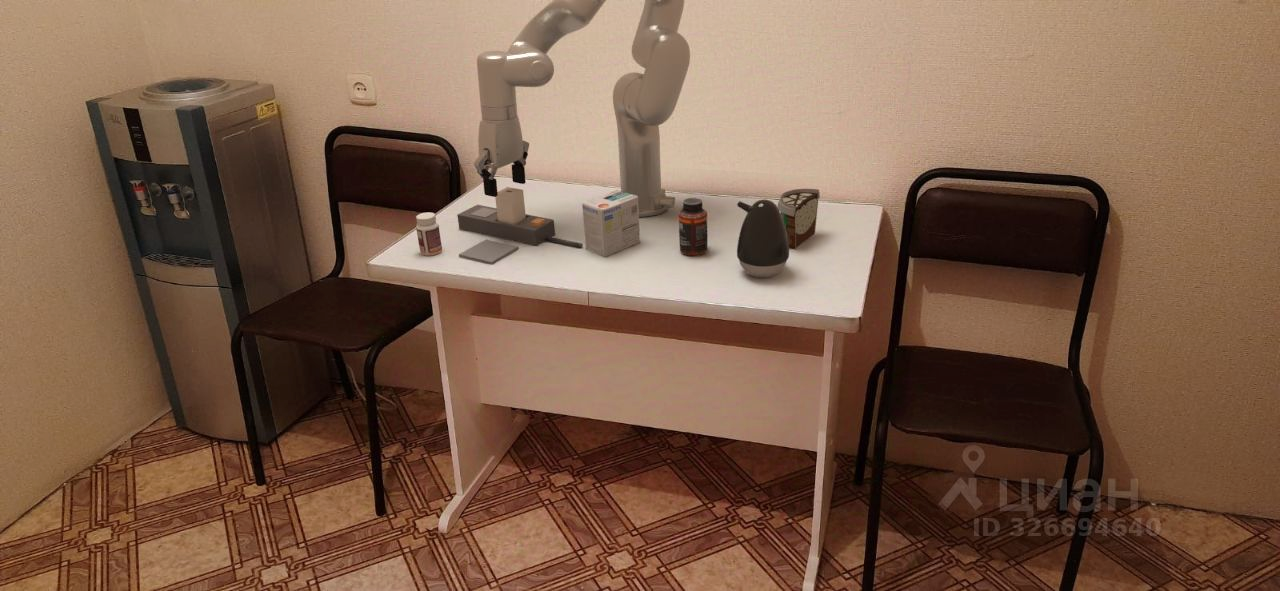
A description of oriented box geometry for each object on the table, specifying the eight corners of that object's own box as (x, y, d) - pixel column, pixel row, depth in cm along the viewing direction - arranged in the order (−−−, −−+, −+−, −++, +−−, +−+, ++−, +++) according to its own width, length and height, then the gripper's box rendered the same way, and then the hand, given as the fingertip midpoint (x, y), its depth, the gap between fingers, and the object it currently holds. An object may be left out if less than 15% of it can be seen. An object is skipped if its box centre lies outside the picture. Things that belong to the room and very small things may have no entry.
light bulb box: (620, 234, 200) (617, 188, 195) (641, 242, 195) (639, 195, 191) (584, 249, 193) (580, 202, 188) (605, 257, 189) (602, 209, 184)
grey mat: (518, 249, 195) (518, 246, 194) (491, 264, 188) (491, 262, 188) (486, 241, 199) (486, 239, 199) (459, 256, 192) (458, 254, 192)
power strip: (591, 242, 196) (590, 223, 194) (573, 254, 191) (571, 234, 189) (479, 218, 212) (476, 201, 210) (459, 229, 206) (456, 211, 204)
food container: (792, 227, 200) (794, 184, 195) (817, 232, 197) (820, 188, 192) (765, 246, 191) (767, 201, 186) (792, 252, 188) (794, 207, 183)
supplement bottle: (712, 248, 191) (712, 198, 186) (699, 259, 186) (699, 207, 181) (687, 243, 194) (686, 194, 189) (674, 254, 189) (673, 203, 184)
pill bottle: (445, 247, 197) (439, 211, 194) (438, 256, 193) (433, 219, 189) (424, 247, 198) (418, 211, 194) (417, 256, 194) (411, 219, 190)
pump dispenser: (744, 258, 186) (745, 188, 179) (793, 265, 182) (796, 193, 175) (729, 279, 177) (729, 206, 170) (781, 286, 174) (783, 212, 167)
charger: (526, 223, 202) (523, 189, 199) (514, 230, 199) (510, 195, 196) (511, 220, 205) (507, 186, 201) (498, 227, 201) (494, 192, 198)
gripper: (510, 101, 199) (516, 175, 206) (458, 119, 185) (466, 198, 193) (538, 105, 195) (542, 180, 203) (486, 123, 182) (493, 203, 189)
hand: (505, 189), depth 198 cm, fingers open, 9 cm apart
